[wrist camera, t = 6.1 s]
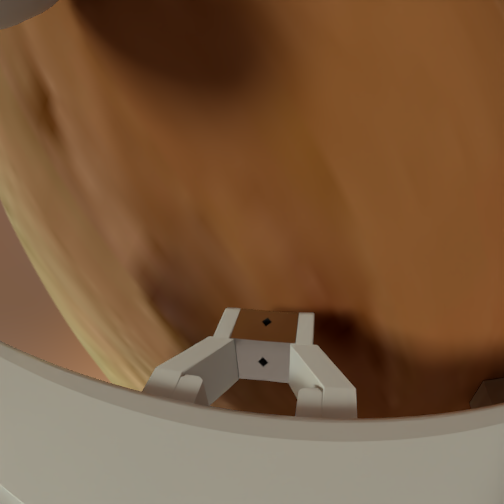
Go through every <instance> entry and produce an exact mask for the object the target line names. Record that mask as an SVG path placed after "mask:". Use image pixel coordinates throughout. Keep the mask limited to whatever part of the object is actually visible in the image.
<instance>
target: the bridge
mask: <svg viewBox="0 0 504 504" xmlns="http://www.w3.org/2000/svg"><path fill="white" fill-rule="evenodd" d="M500 403H504V378H499V379H493V380H486V381H483V382H482V384H481V386H480V387H479V389H478V390H477V392H476V394H475V395H474V397H473V398H472V400H471V401H470V403H469V404H470V407H471V409H474V408H480V407H485V406H491V405H496V404H500Z"/></svg>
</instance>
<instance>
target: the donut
mask: <svg viewBox="0 0 504 504" xmlns="http://www.w3.org/2000/svg"><path fill="white" fill-rule="evenodd" d="M57 1H58V0H0V29H5V28H8V27H11V26H14V25H17V24H19V23H21V22H23V21H25V20H27V19H29V18H32V17H34V16H36V15H38V14H41V13H43V12H44V11H46V10H47V9H49V8H50V7H52V6H53V5H54V4H55V3H56V2H57Z"/></svg>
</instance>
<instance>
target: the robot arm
mask: <svg viewBox="0 0 504 504" xmlns="http://www.w3.org/2000/svg"><path fill="white" fill-rule="evenodd" d="M314 319H315V314H314V313H310V312H299V313H293V312H275V311H265V310H253V309H243V308H242V309H241V308H231V307H227V308H226V309H225V311H224V313H223V315H222V318H221V320H220V322H219V324H218V327H217V329H216V331H215V334H214V336H213V337H212V336H209V337H207V338H205V339H204V340H202V341H200V342H199V343H197V344H195V345H194V346H192V347H190V348H189V349H187V350H185V351H183V352H182V353H180V354H178V355H177V356H175V357H173V358H171V359H170V360H168V361H166V362H164V363H163V364H161V365H159V366H157V367H156V368H155V370H154V371H153V373H152V375H151V377H150V378H149V380H148V382H147V384H146V385H145V387H144V389H143V391H142V392H141V391H137V390H133V389H129V388H126V387H122V386H119V385H115V384H112V383H108V382H105V381H102V380H99V379H95V378H92V377H89V376H86V375H83V374H80V373H77V372H74V371H72V370H69V369H66V368H63V367H60V366H58V365H55V364H53V363H50V362H47V361H45V360H42V359H40V358H37V357H35V356H33V355H30V354H28V353H26V352H23V351H21V350H19V349H16V348H14V347H12V346H10V345H8V344H6V343H4V342H2V341H0V504H504V403H500V404H496V405H491V406H485V407H480V408H474V409H468V410H462V411H455V412H447V413H439V414H429V415H419V416H406V417H389V418H357V400H356V388H355V387H354V386H353V385H352V384H351V383H350V381H349V380H348V379H347V378H346V377H345V376H344V375H343V373H342V372H341V371H340V370H339V369H338V368H337V367H336V365H335V364H334V363H333V362H332V361H331V360H330V359H329V357H328V356H327V355H326V354H325V353H324V352H323V351H322V349H321V348H320V347H319V346H318V345H313V341H314ZM239 378H241V379H253V380H265V381H274V382H283V383H289V385H290V387H291V389H292V391H293V393H294V394H295V396H296V398H297V406H296V413H295V416H284V415H273V414H263V413H254V412H246V411H238V410H231V409H224V408H218V407H212V406H210V405H211V404H212V403H213V402H214V401H215V400H216V399H218V398H219V397H220V396H221V395H222V394H223V393H224V392H226V391H227V390H228V389H229V388H230V387H231V386H232V385H233V384H235V383H236V382H237V381H238V380H239Z"/></svg>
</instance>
